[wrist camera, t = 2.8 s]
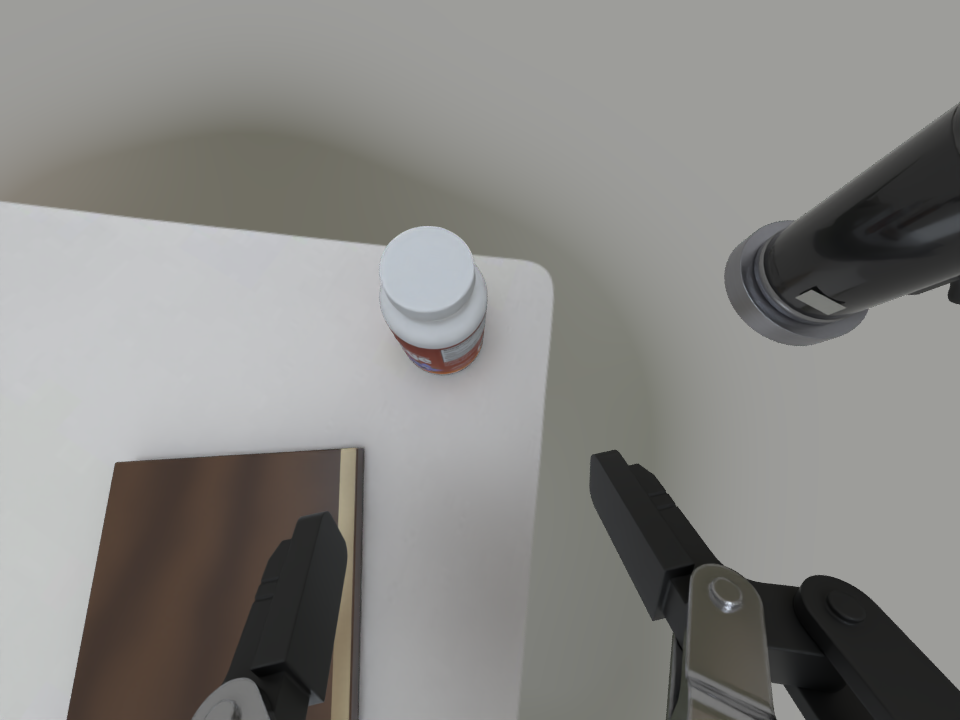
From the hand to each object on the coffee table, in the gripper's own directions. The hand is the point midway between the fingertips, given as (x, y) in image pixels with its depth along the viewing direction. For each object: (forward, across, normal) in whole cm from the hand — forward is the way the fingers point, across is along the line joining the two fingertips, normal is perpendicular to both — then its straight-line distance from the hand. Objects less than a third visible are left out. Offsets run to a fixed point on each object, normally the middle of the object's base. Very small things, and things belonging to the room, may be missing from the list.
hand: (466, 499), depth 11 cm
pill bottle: (+18, 0, +4) cm, 18 cm away
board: (+6, +17, +15) cm, 23 cm away
